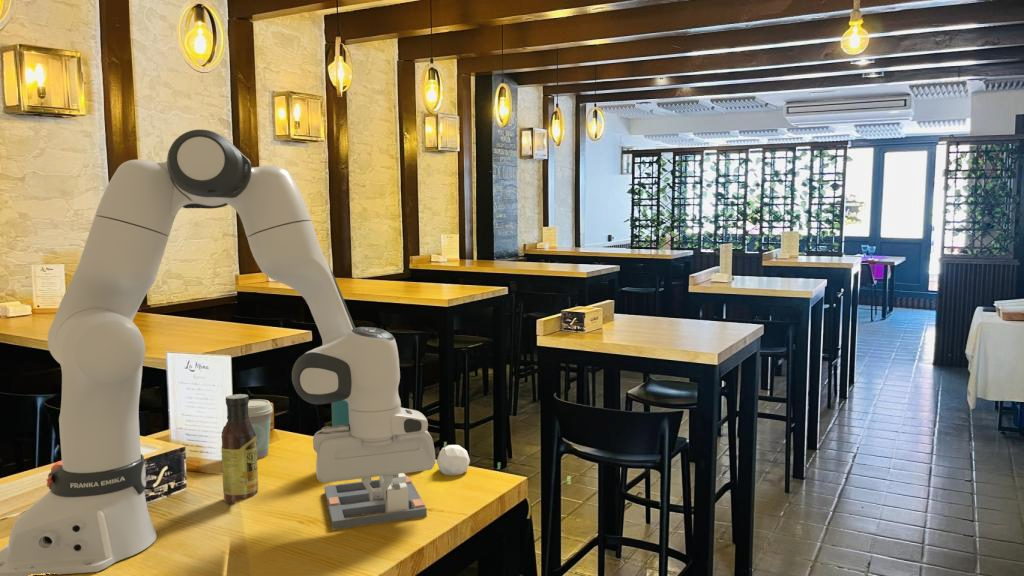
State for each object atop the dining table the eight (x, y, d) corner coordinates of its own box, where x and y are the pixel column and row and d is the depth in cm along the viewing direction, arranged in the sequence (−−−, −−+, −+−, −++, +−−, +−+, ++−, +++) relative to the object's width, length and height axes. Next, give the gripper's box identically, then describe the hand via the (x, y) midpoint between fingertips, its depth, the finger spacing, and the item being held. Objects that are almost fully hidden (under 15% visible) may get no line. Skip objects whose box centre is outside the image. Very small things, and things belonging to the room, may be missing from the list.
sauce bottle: (255, 504, 134) (250, 399, 132) (220, 506, 133) (215, 401, 131) (261, 491, 141) (257, 391, 139) (228, 493, 140) (223, 393, 138)
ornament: (471, 481, 145) (450, 456, 142) (444, 487, 148) (424, 463, 145) (479, 456, 150) (460, 432, 147) (454, 463, 153) (434, 440, 150)
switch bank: (332, 535, 120) (332, 519, 120) (324, 498, 136) (324, 484, 136) (426, 522, 126) (426, 506, 125) (408, 488, 142) (408, 474, 141)
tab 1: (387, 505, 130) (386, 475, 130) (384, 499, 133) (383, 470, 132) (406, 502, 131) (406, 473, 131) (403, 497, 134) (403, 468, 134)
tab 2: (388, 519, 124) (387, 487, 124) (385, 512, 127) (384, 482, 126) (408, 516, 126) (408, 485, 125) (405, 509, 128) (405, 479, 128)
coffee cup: (226, 461, 158) (224, 407, 157) (247, 448, 167) (244, 398, 166) (262, 462, 157) (260, 409, 156) (281, 450, 165) (279, 399, 164)
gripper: (313, 433, 117) (317, 515, 119) (436, 420, 124) (438, 498, 125) (311, 423, 123) (314, 501, 125) (428, 411, 130) (430, 485, 131)
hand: (377, 499), depth 125 cm, fingers closed
